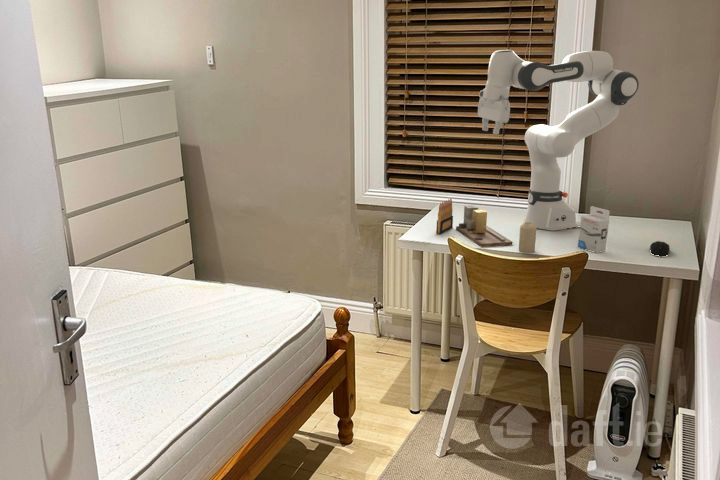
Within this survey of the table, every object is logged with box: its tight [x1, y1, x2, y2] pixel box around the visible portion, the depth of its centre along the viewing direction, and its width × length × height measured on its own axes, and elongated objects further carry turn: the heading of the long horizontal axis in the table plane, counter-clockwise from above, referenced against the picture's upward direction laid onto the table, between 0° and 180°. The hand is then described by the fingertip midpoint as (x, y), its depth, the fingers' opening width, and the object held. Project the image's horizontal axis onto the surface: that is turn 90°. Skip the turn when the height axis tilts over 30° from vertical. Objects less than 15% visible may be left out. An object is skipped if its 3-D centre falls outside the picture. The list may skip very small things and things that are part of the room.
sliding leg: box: [467, 209, 488, 233], centre depth 256 cm, size 6×4×8 cm, turn 104°
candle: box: [518, 222, 538, 253], centre depth 239 cm, size 6×6×10 cm
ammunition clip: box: [435, 198, 454, 235], centre depth 262 cm, size 11×2×12 cm, turn 147°
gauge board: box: [455, 205, 513, 248], centre depth 255 cm, size 12×24×9 cm, turn 14°
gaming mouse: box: [649, 240, 670, 256], centre depth 238 cm, size 6×15×4 cm, turn 157°
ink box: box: [577, 205, 610, 254], centre depth 240 cm, size 9×5×15 cm, turn 33°
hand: (490, 132), depth 256 cm, fingers open, 8 cm apart
